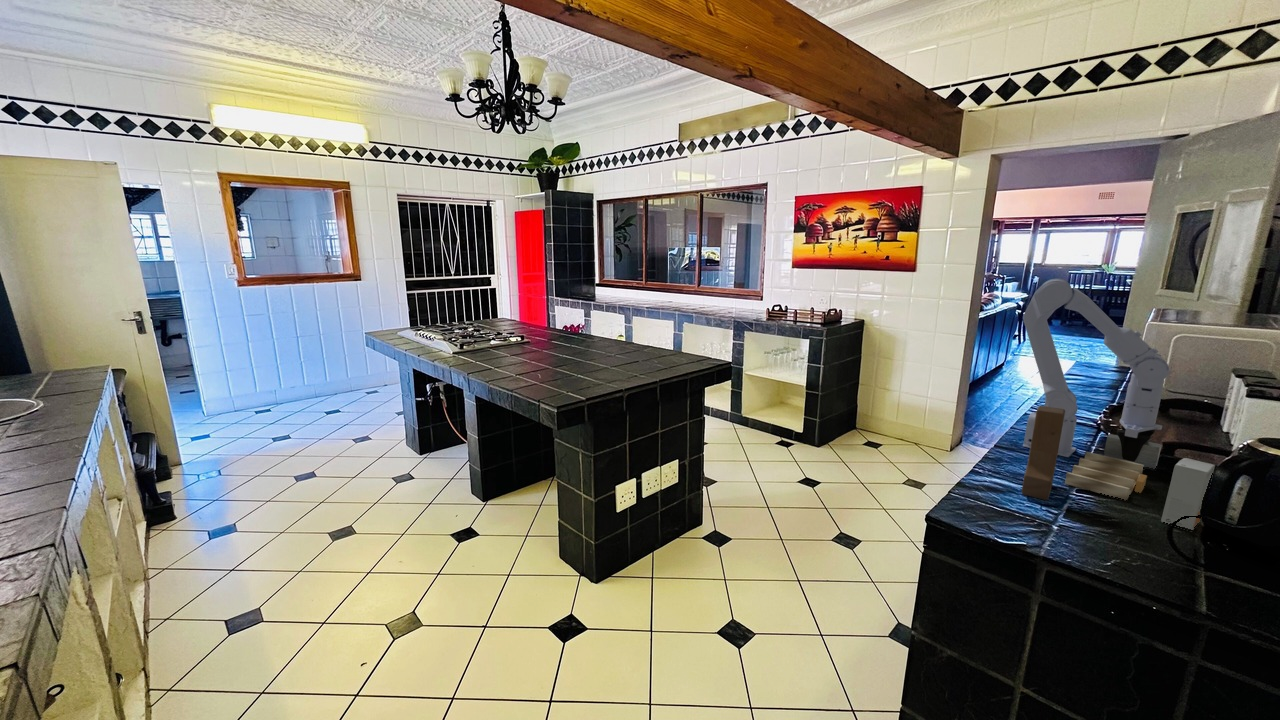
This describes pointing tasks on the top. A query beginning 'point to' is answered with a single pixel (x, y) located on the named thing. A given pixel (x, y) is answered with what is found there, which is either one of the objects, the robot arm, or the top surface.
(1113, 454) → the panel
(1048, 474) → the wooden block
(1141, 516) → the top surface
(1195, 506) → the skincare box
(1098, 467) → the rack
